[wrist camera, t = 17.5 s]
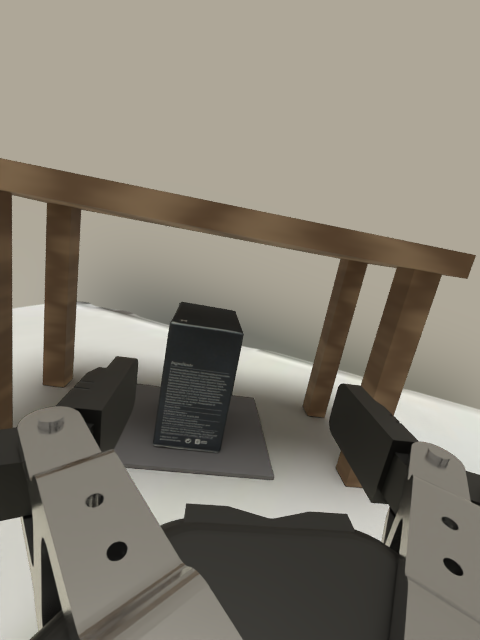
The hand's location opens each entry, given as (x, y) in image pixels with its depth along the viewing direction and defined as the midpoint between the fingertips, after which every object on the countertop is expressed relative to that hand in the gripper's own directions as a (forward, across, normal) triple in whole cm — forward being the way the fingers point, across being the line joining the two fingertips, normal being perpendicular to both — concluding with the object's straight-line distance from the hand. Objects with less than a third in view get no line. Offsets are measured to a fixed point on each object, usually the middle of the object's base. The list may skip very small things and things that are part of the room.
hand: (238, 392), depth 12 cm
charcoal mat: (+14, +2, +12) cm, 18 cm away
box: (+14, +2, +12) cm, 18 cm away
